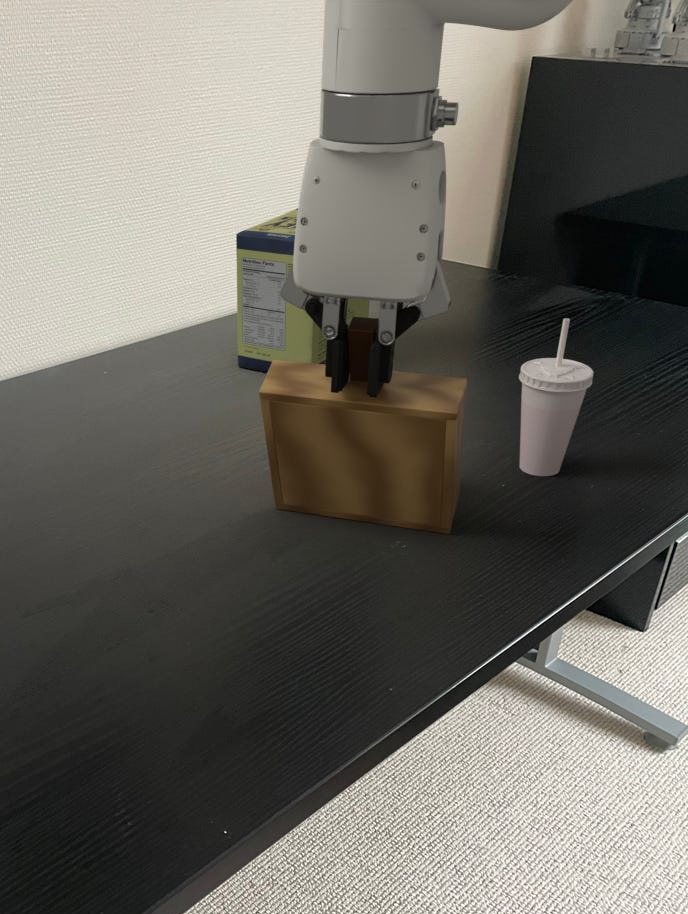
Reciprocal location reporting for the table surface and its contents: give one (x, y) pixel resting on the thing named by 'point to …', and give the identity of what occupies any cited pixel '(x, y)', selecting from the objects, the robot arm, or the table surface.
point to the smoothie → (550, 408)
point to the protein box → (275, 300)
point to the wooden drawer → (365, 441)
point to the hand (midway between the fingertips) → (357, 387)
